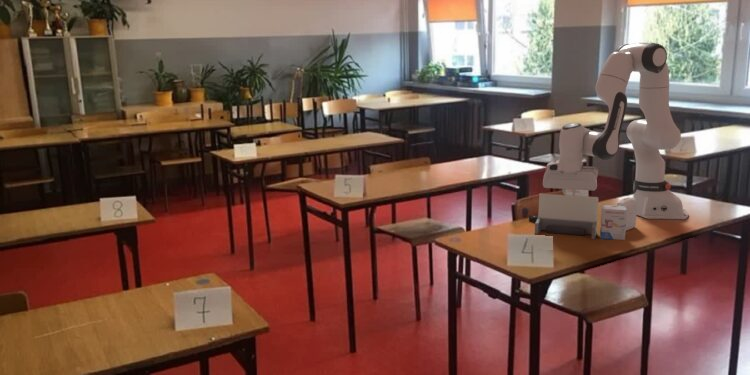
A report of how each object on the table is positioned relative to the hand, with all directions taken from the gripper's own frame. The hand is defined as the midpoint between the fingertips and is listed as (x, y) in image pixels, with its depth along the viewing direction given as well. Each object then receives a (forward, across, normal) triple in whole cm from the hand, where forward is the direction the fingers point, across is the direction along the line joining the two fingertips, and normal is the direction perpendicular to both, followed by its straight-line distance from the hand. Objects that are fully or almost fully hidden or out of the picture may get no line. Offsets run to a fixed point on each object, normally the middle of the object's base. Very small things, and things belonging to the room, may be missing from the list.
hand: (568, 199), depth 250 cm
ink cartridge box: (+11, -1, -21) cm, 24 cm away
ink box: (+11, -17, +9) cm, 22 cm away
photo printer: (+11, -21, -4) cm, 24 cm away
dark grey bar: (+10, 0, +9) cm, 13 cm away
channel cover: (+2, 0, +4) cm, 5 cm away
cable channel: (+11, 0, +9) cm, 14 cm away
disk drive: (+12, +7, -5) cm, 15 cm away
